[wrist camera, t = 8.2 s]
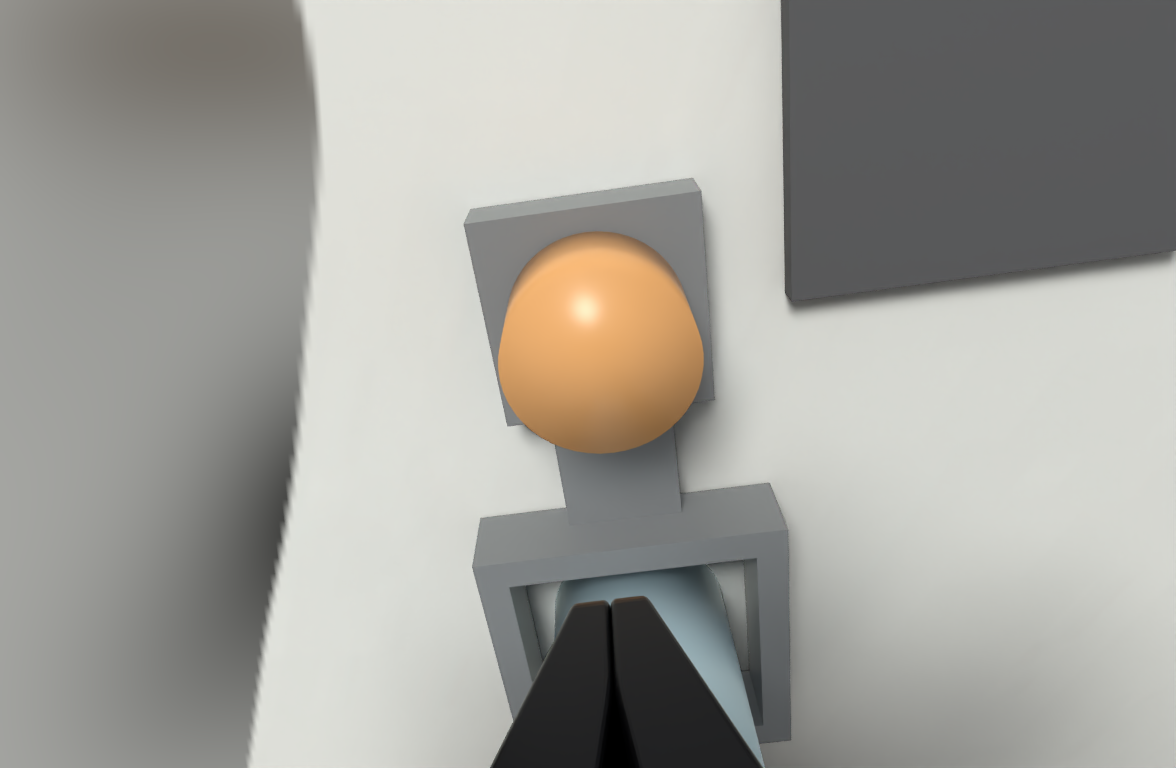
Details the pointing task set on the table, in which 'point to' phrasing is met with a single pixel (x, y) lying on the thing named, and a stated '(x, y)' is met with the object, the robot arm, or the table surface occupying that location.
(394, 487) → the table surface
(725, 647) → the cylinder
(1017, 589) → the table surface
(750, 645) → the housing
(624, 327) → the plunger
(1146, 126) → the mat
